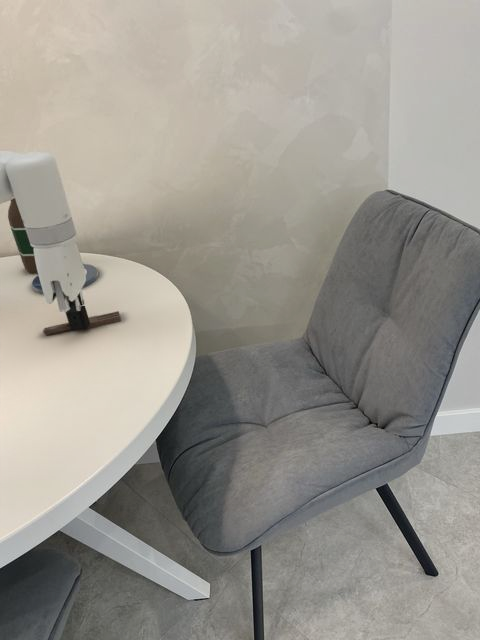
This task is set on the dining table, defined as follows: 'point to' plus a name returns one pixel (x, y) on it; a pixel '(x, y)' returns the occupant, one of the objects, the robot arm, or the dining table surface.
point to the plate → (90, 278)
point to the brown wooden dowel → (94, 322)
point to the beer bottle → (21, 238)
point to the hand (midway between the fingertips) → (80, 327)
